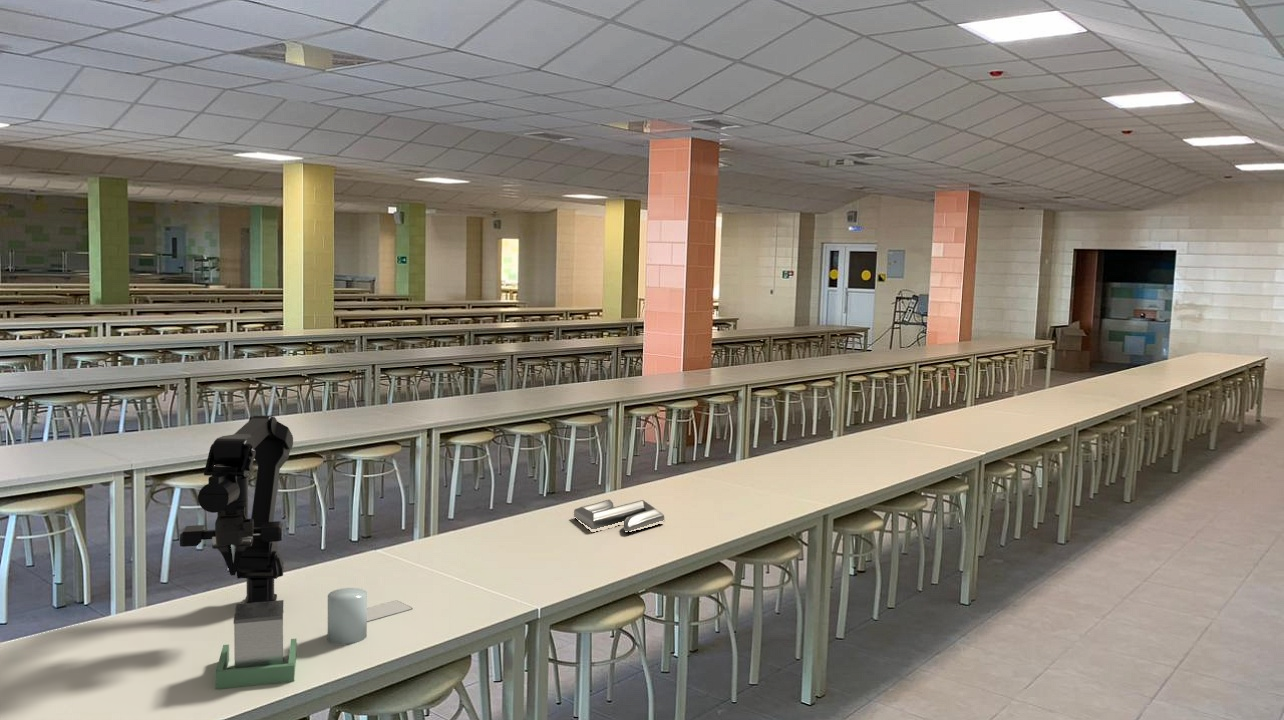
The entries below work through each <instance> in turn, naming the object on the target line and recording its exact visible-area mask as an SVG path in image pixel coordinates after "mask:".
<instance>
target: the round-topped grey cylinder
mask: <svg viewBox="0 0 1284 720" xmlns="http://www.w3.org/2000/svg"><path fill="white" fill-rule="evenodd" d="M367 608H368V592H367V590H365V589H363V588H359V587H343V588H339V589H338V588H337V589H335V590H332V591H330V592H329V593H328V594H327V641H328V642H329V643H331V644H333V643H334V645H340V644H346V645H352V644H357V643H360V642H362V641H364V640H365V639H367V636H368V634H367V633H368V631H367V627H368V622H367Z"/></svg>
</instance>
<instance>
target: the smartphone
mask: <svg viewBox="0 0 1284 720" xmlns="http://www.w3.org/2000/svg"><path fill="white" fill-rule="evenodd" d="M411 610H413V607H412V606H410V605H407V604H405V603H404V602H402V601H399V600H391V601H388V602H384V603H381V604H380V603H379V604H378V605H374V606H369V607H367V623H369V622H373V621H377V620H381V619H384V618H387V617H391V616H394V615H397V614H402V613H405V612H409V611H411Z"/></svg>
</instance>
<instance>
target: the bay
mask: <svg viewBox="0 0 1284 720" xmlns="http://www.w3.org/2000/svg"><path fill="white" fill-rule="evenodd" d="M289 644H290V646H289V654H288V663H283V664H279V665H269V666H258V667H248V668H238V669H235V668H229V669H228V666H229V662H230V644H223V646H222V648H221V652H220V656H219V660H218V663H217V666H216V669H215V675H214V676H215V690H221V689H230V688H231V689H232V688H243V687H251V686H259V685H260V686H261V685H270V684H279V683H280V684H282V683H291V682H294V681H295V674H296V673H295V672H296V665H297V638H291V639H290V643H289Z"/></svg>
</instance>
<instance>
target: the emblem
mask: <svg viewBox="0 0 1284 720" xmlns="http://www.w3.org/2000/svg"><path fill="white" fill-rule="evenodd" d="M574 517H576V518H577V519H578V520H580V521H581V522H582V523H584V524H585V525H587V526H588V527H590V528H591V529H597V528H600V527H604V526H608V525H612V524H615V523H618V522H622V521H624V525H623V526H624V527H623V531H624V530H625V531H631V530H634V529H637V528H640V527H644V526H647V525H649V524H653V523H656V522H659V521H663V520H664V521H665V514H664V513H662V512H661V511H659V510H658V509H657V508H655V507H654V506H652V505H651V504H649V502H647V501H645V500H644V499H640V500H637V501H633V502H630V503H629V502H628V503H625V504H621V505H617V506H614V502H613V501H612V500H611V499H605V500H602V501H600V502H594V503H591V504H587V505H583V506H580V507H577V508H575V509H574V510H573V518H574Z"/></svg>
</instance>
